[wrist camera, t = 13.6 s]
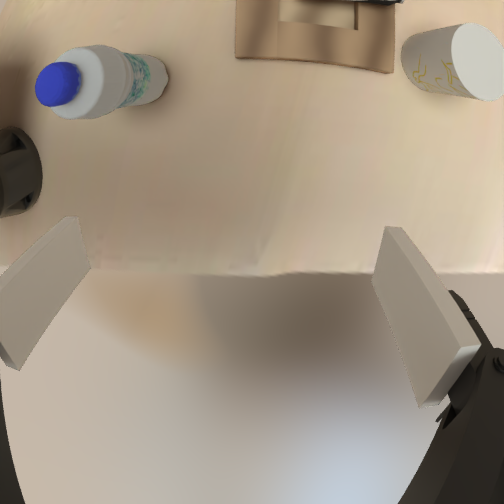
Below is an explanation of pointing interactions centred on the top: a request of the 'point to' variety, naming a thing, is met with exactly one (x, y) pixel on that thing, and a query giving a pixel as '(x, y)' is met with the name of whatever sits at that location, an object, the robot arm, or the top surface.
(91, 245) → the top surface
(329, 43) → the socket block
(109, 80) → the bottle
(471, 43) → the cup
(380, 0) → the beverage can
